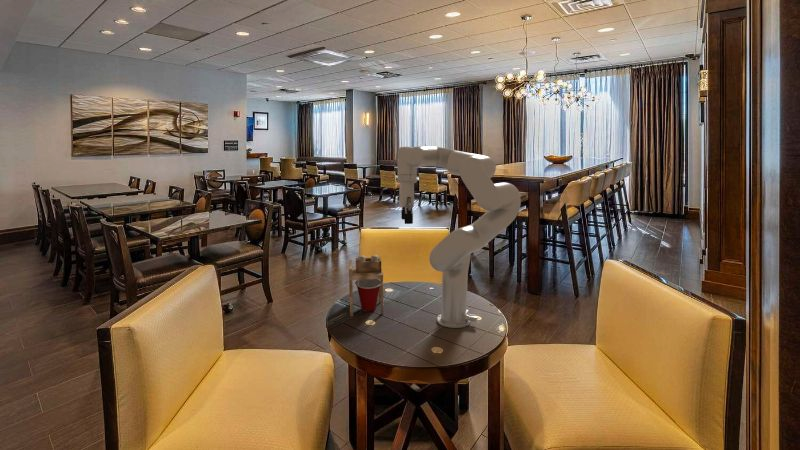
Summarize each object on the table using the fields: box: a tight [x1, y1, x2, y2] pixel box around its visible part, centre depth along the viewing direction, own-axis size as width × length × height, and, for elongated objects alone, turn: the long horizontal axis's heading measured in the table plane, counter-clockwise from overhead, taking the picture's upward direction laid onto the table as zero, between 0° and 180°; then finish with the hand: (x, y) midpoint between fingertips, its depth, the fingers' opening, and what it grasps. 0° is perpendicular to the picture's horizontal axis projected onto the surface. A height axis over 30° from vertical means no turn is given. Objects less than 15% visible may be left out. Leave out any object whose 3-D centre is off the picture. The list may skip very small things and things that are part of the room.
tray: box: [355, 254, 382, 273], centre depth 172 cm, size 10×6×6 cm, turn 97°
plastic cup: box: [354, 279, 381, 312], centre depth 174 cm, size 11×11×12 cm
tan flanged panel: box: [348, 259, 384, 317], centre depth 174 cm, size 13×13×20 cm
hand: (406, 221), depth 171 cm, fingers open, 9 cm apart
